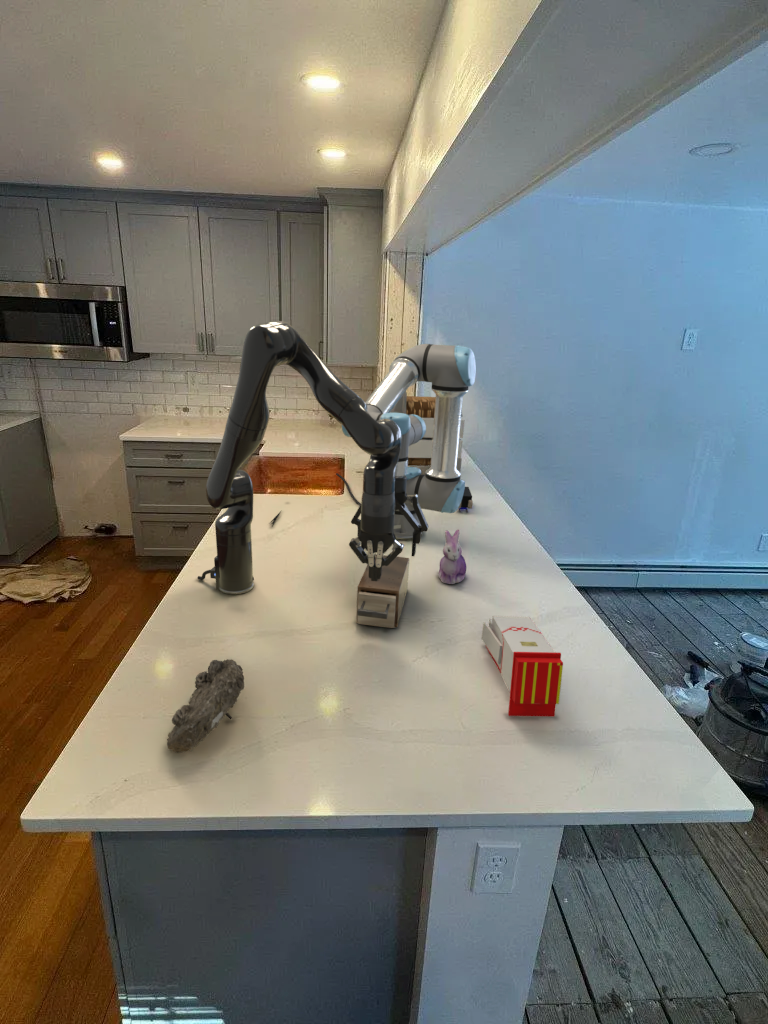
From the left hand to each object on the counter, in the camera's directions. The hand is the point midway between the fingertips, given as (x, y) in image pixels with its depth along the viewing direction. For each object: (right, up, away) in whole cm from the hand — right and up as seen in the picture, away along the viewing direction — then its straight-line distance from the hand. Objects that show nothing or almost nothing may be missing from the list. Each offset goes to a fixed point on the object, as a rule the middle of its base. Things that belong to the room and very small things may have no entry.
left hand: (375, 579), depth 132 cm
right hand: (+3, +5, +19) cm, 20 cm away
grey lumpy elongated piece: (-31, -23, -24) cm, 45 cm away
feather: (-37, +15, +80) cm, 90 cm away
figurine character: (+34, +17, +96) cm, 103 cm away
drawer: (+1, -10, +13) cm, 17 cm away
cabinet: (+2, -9, +19) cm, 21 cm away
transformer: (+19, +35, +143) cm, 148 cm away
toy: (+31, -20, -8) cm, 38 cm away
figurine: (+22, -4, +36) cm, 43 cm away
